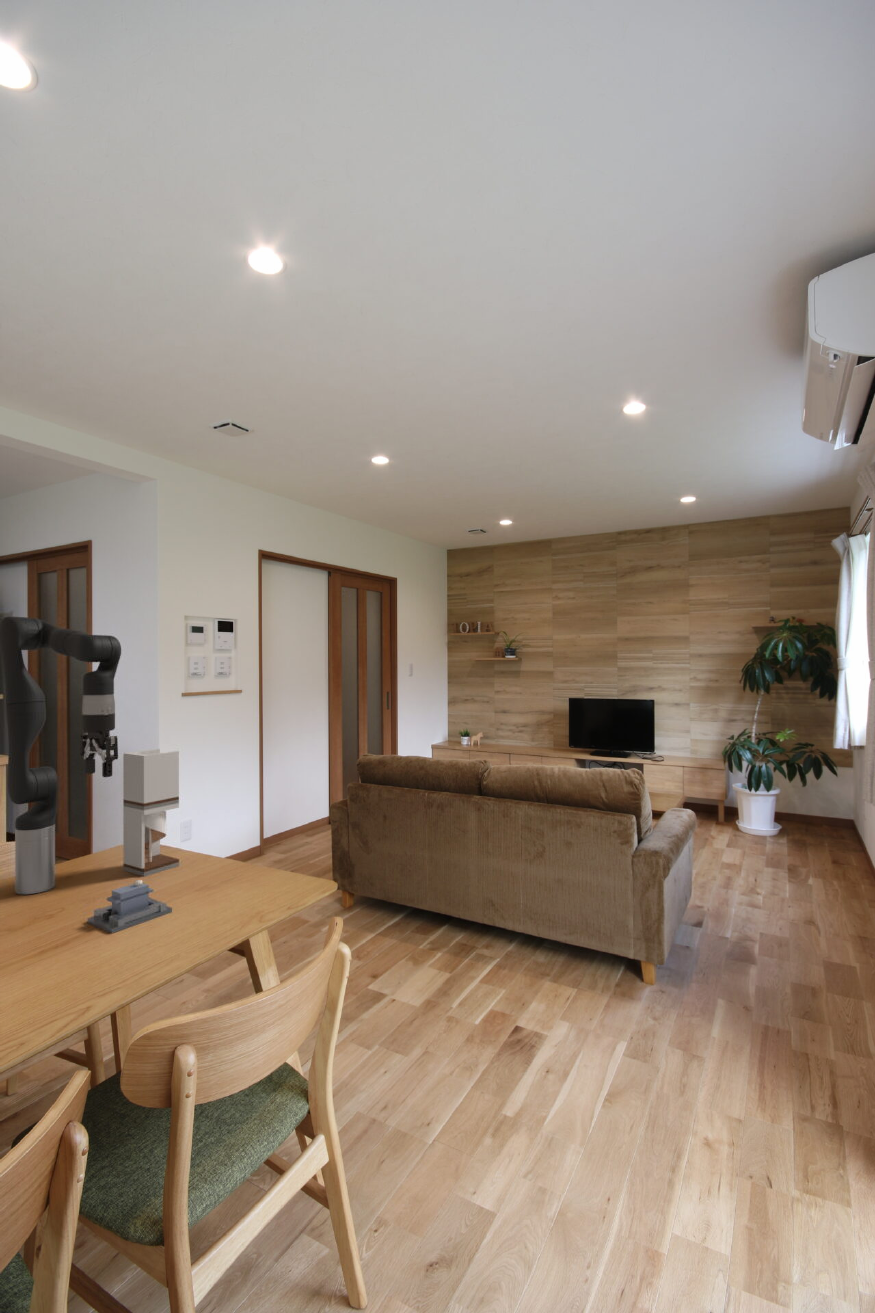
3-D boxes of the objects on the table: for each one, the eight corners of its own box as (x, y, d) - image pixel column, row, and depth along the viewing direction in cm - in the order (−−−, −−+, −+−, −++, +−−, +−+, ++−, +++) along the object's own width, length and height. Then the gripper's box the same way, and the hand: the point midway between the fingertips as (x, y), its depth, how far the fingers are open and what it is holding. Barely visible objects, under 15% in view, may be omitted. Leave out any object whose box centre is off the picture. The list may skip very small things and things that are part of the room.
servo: (115, 921, 148) (115, 891, 148) (106, 917, 150) (106, 887, 150) (153, 908, 156) (153, 879, 156) (144, 904, 158) (144, 876, 158)
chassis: (111, 933, 144) (111, 922, 144) (87, 922, 150) (87, 912, 150) (171, 912, 156) (171, 901, 156) (147, 902, 162) (147, 893, 162)
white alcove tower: (144, 876, 183) (143, 756, 183) (123, 870, 188) (123, 753, 189) (179, 865, 192) (178, 751, 193) (158, 860, 198) (158, 749, 198)
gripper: (69, 712, 163) (69, 774, 163) (98, 714, 155) (98, 780, 155) (99, 710, 169) (99, 770, 169) (127, 712, 161) (127, 775, 161)
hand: (98, 775), depth 162 cm, fingers open, 8 cm apart
